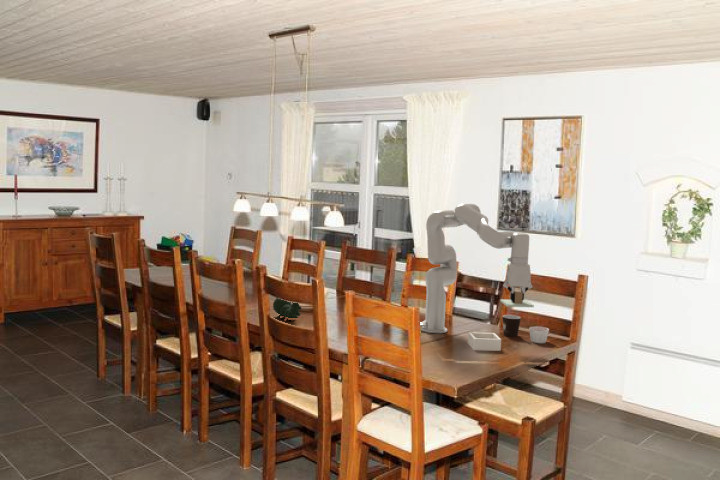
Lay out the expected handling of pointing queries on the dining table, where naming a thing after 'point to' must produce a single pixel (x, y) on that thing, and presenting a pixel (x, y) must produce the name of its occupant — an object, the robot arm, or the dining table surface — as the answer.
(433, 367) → the dining table surface
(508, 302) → the lid
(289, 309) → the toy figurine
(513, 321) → the coffee mug
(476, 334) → the box
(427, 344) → the dining table surface
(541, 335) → the light grey bowl
